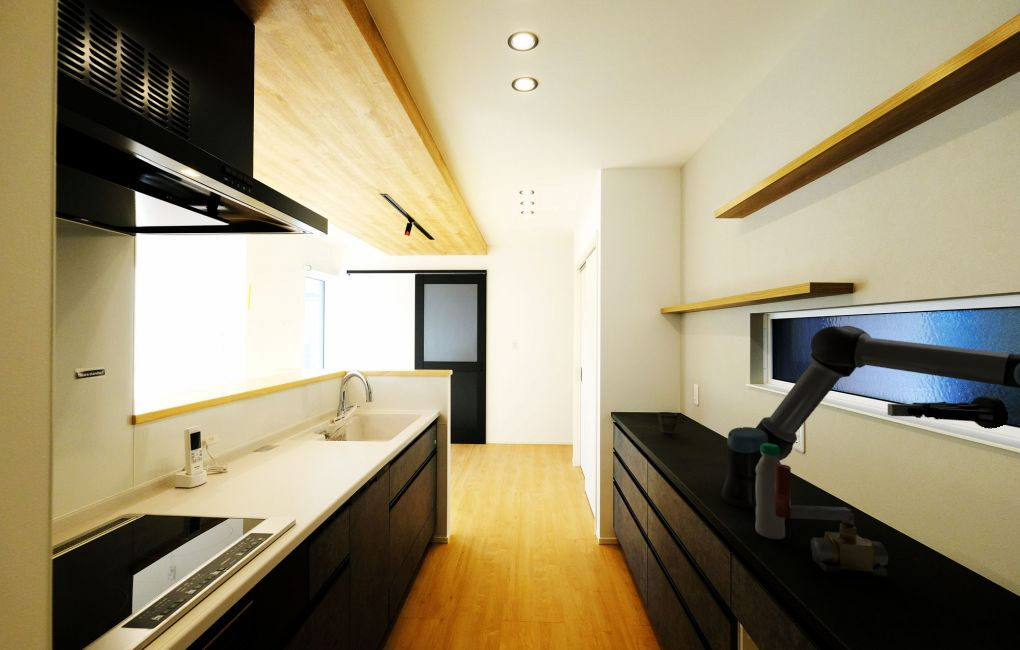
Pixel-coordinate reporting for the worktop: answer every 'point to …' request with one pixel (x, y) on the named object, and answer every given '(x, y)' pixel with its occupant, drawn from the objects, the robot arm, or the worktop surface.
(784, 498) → the valve lever
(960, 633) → the worktop surface
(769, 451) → the water bottle
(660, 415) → the ceramic cup
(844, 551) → the valve body
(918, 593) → the worktop surface
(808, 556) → the worktop surface
